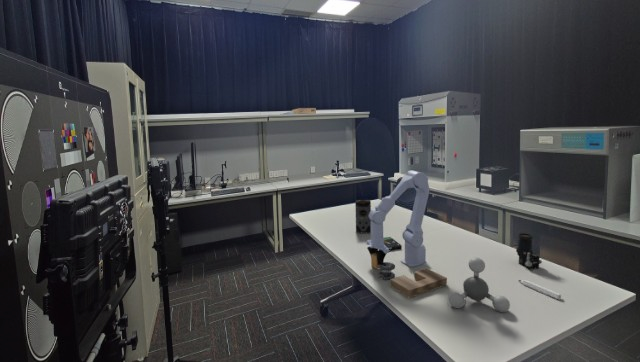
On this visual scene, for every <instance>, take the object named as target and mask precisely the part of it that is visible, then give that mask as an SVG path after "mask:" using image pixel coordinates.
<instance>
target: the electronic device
mask: <svg viewBox="0 0 640 362" xmlns="http://www.w3.org/2000/svg"><path fill="white" fill-rule="evenodd" d="M371 202H372V201H371V200H370V199H356V200H355V232H356V233H357V234H371V220H370V218H369V216H368V215H369V213H370V211H371V210H372V208H371V207H372V203H371Z"/></svg>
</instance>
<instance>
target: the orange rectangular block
mask: <svg viewBox="0 0 640 362" xmlns="http://www.w3.org/2000/svg"><path fill="white" fill-rule="evenodd" d="M370 258H371V259H370V260H371V267H372V268H374V269H375V270H379V269H380V268H379V265H378V260H377V255H376V253H373V254H371V255H370ZM383 262H384V261H383Z"/></svg>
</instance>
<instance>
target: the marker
mask: <svg viewBox="0 0 640 362" xmlns="http://www.w3.org/2000/svg"><path fill="white" fill-rule="evenodd" d="M518 282H520V283H521V284H522V286H525V287H527V288H530V289H532V290H534V291H537V292H539V293H541V294H543V295H545V294H546V296H548V297H550V296H551V297H550V298H552V297H553V298H552V299H555V300H557V299H559V300H560V298H562V294H561V293H558V292H556V291H553V290H551V289H549V288H546V287H544V286H541V285H539V284H536V283H534V282H532V281H529V280H527V279H523V280H521V279H520V280H518Z"/></svg>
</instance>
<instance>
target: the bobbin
mask: <svg viewBox="0 0 640 362" xmlns="http://www.w3.org/2000/svg"><path fill="white" fill-rule="evenodd" d="M395 268H396V265H395V264H394V263H393V262H387V261H386V262H383V263H380V264H379V269H380V270H381V272H378V278H379V279H381V280H384V281H385V280H387V281H391V279H393V278H396V273H394V272H392V271H393V270H395Z"/></svg>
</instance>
